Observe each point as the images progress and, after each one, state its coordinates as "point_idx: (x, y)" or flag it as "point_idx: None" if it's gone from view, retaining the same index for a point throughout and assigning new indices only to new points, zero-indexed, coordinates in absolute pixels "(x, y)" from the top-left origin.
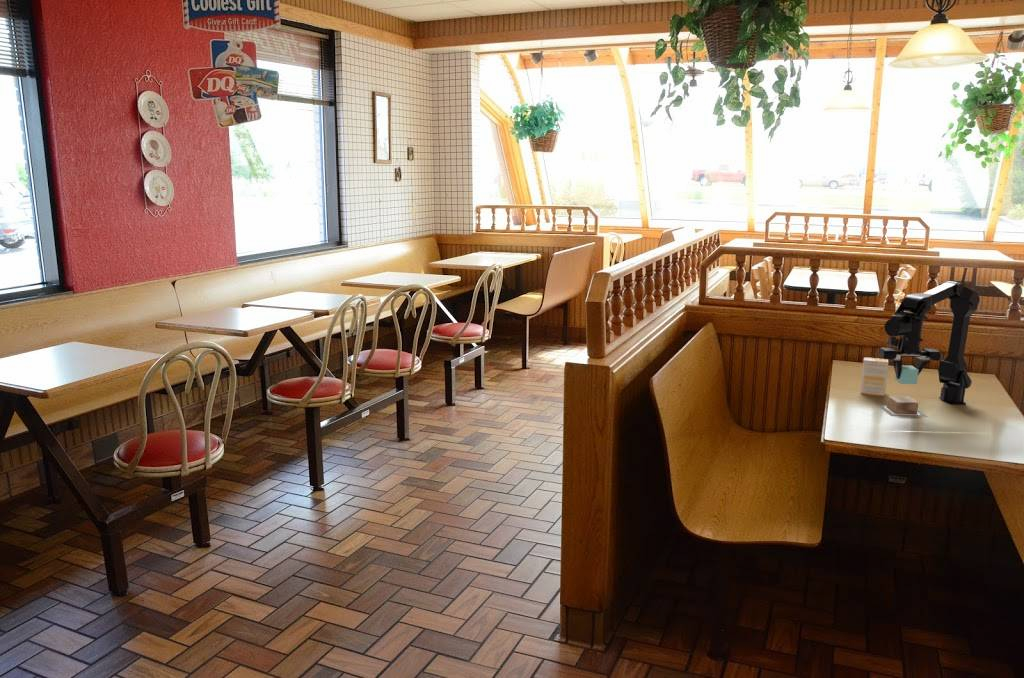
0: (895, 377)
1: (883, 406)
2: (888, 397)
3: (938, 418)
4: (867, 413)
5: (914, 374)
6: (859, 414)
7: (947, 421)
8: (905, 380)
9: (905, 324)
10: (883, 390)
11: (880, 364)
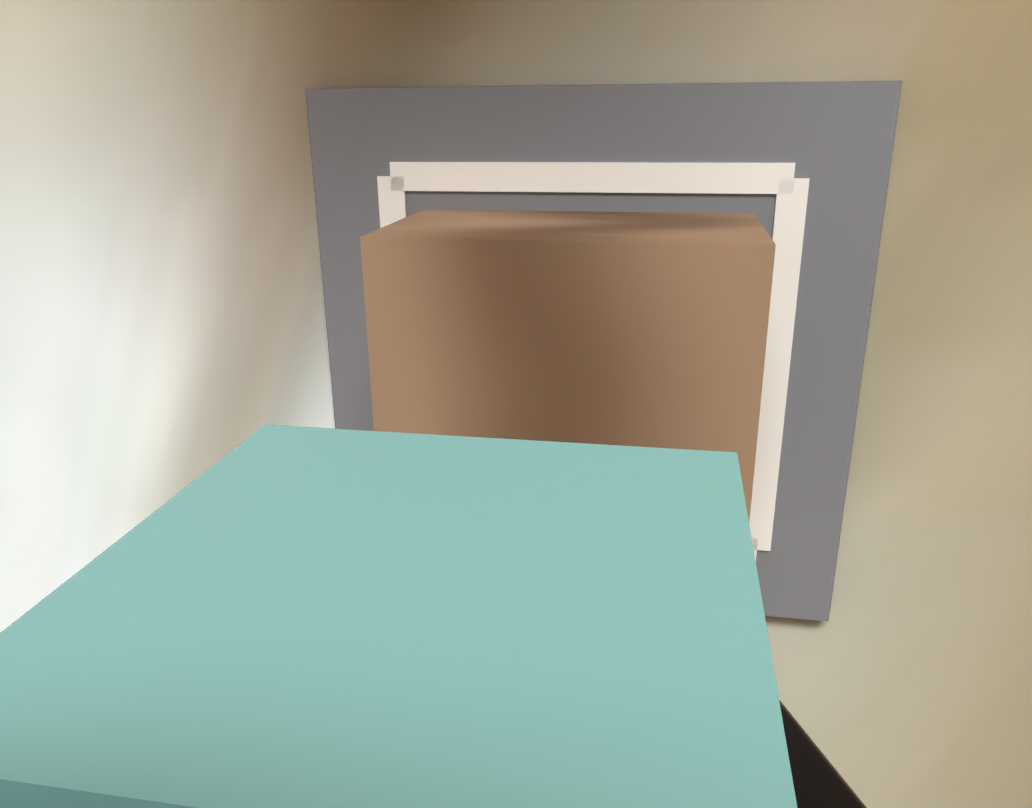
0: (231, 466)
1: (379, 189)
2: (369, 253)
3: (973, 628)
4: (119, 438)
5: None
6: (26, 474)
7: (1020, 735)
8: None
9: None
10: None
11: None
